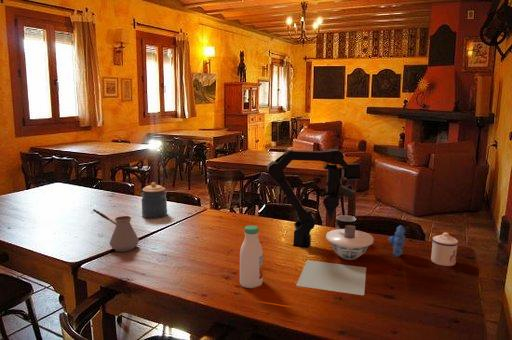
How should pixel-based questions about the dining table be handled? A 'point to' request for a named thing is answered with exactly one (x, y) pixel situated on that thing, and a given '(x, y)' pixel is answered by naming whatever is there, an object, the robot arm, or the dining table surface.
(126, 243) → the coffee pot
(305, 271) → the mat
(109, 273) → the dining table surface
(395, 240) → the blue lumpy piece
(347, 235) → the lid
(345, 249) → the chinaware
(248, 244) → the milk bottle
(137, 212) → the dining table surface
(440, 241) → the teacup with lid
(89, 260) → the dining table surface
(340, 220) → the coffee mug
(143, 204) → the canister
